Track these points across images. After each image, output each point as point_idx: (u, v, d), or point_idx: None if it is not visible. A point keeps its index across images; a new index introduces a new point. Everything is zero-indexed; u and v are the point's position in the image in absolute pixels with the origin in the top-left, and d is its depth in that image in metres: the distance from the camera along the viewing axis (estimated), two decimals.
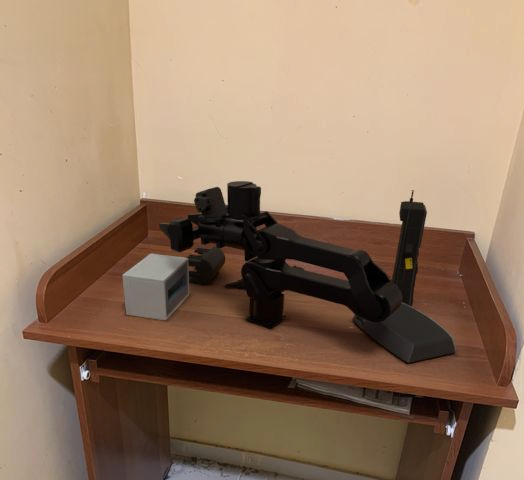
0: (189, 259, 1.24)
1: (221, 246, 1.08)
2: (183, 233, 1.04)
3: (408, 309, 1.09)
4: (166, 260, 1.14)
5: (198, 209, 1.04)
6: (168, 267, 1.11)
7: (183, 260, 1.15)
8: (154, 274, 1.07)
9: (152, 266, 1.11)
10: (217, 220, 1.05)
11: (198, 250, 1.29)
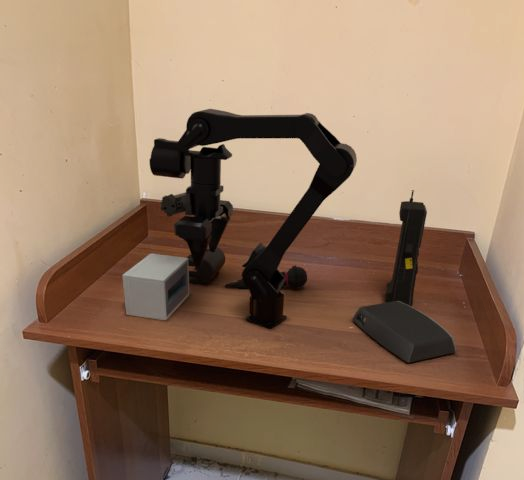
0: (189, 259, 1.24)
1: (215, 190, 0.98)
2: (186, 220, 0.96)
3: (408, 309, 1.09)
4: (166, 260, 1.14)
5: (173, 208, 1.00)
6: (168, 267, 1.11)
7: (183, 260, 1.15)
8: (154, 274, 1.07)
9: (152, 266, 1.11)
10: (187, 190, 0.99)
11: None
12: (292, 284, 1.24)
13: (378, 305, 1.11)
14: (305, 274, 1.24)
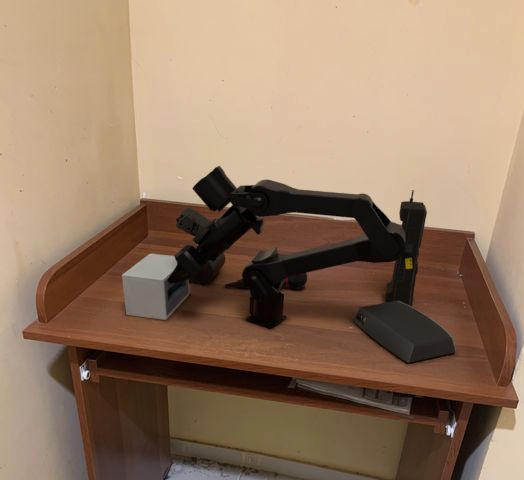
0: None
1: (230, 244, 1.03)
2: (192, 255, 0.99)
3: (408, 309, 1.09)
4: (165, 260, 1.14)
5: (187, 230, 1.01)
6: (167, 267, 1.11)
7: None
8: (153, 274, 1.07)
9: (151, 266, 1.11)
10: (209, 225, 1.02)
11: None
12: (292, 284, 1.24)
13: (378, 305, 1.11)
14: (305, 274, 1.24)
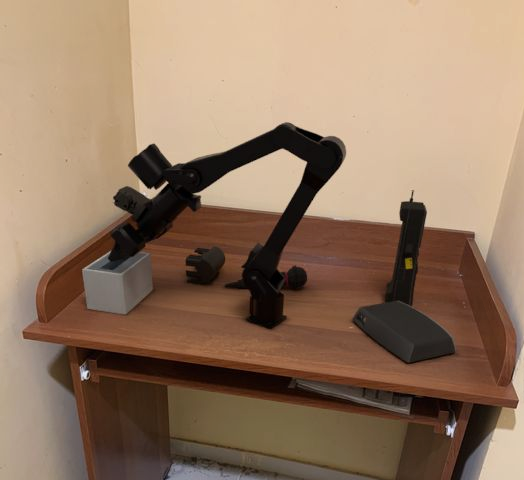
0: (189, 259, 1.24)
1: (167, 222, 1.04)
2: (127, 232, 1.00)
3: (408, 309, 1.09)
4: None
5: (124, 208, 1.02)
6: None
7: None
8: None
9: None
10: (146, 203, 1.02)
11: (198, 250, 1.29)
12: (292, 284, 1.24)
13: (378, 305, 1.11)
14: (305, 274, 1.24)
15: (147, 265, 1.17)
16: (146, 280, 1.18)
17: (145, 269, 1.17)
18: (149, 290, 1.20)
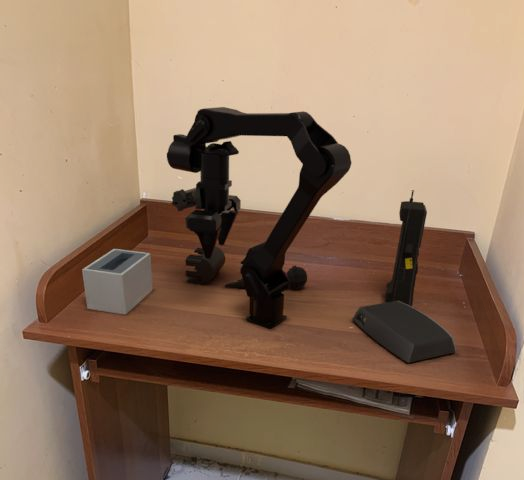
0: (189, 259, 1.24)
1: (224, 184, 1.03)
2: (197, 214, 1.00)
3: (408, 309, 1.09)
4: None
5: (184, 203, 1.04)
6: None
7: None
8: None
9: None
10: (197, 185, 1.04)
11: (198, 250, 1.29)
12: (292, 284, 1.24)
13: (378, 305, 1.11)
14: (305, 274, 1.24)
15: (147, 265, 1.17)
16: (146, 280, 1.18)
17: (145, 269, 1.17)
18: (149, 290, 1.20)
